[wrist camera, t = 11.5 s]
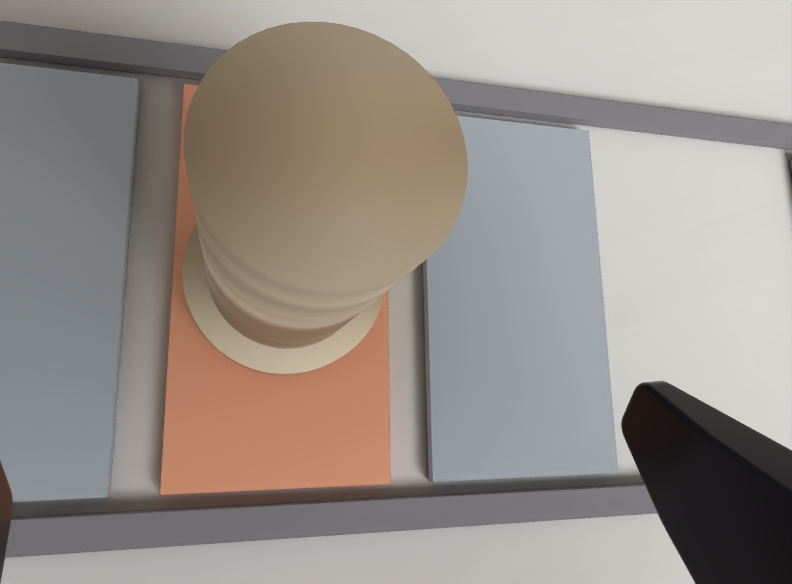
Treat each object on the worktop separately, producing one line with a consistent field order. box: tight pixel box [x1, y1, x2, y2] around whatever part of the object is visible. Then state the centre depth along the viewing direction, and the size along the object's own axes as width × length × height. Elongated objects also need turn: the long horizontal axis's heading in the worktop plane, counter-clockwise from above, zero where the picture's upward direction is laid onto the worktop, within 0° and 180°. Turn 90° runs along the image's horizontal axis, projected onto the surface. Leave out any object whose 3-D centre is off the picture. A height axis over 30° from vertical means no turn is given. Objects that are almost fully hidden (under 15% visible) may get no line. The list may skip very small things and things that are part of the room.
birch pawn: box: [182, 22, 468, 375], centre depth 12 cm, size 5×5×8 cm
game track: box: [0, 21, 792, 558], centre depth 18 cm, size 13×30×1 cm, turn 91°
